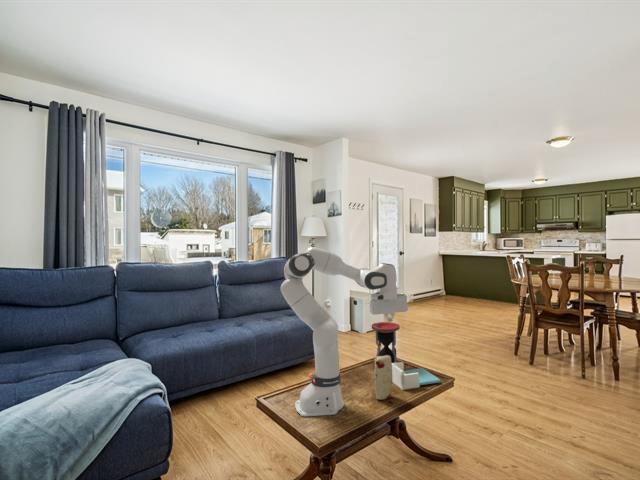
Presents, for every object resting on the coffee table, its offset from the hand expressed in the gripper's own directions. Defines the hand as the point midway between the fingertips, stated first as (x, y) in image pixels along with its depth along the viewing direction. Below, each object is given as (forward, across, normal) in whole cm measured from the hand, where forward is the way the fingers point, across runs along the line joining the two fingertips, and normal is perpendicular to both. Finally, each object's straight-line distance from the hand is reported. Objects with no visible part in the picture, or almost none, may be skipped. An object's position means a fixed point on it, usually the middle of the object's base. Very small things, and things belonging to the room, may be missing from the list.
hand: (389, 321), depth 169 cm
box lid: (+32, -13, -3) cm, 35 cm away
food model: (+33, +9, +10) cm, 36 cm away
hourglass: (+33, -9, -23) cm, 41 cm away
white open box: (+33, -8, -3) cm, 34 cm away
